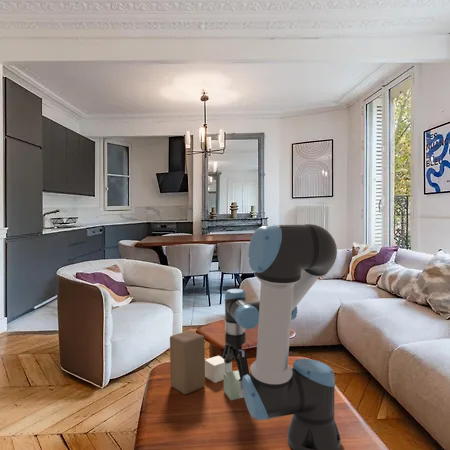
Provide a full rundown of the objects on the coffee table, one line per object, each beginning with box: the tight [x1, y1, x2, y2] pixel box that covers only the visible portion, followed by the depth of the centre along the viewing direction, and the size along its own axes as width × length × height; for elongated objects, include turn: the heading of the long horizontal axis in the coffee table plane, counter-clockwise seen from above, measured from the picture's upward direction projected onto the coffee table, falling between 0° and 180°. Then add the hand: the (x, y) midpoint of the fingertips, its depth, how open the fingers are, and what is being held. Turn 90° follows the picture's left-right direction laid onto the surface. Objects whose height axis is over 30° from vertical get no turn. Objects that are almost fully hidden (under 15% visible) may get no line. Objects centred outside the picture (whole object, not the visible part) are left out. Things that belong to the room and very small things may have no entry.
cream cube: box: [205, 355, 225, 384], centre depth 146 cm, size 7×7×7 cm
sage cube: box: [223, 369, 244, 401], centre depth 133 cm, size 7×7×7 cm
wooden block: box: [169, 330, 206, 395], centre depth 138 cm, size 10×10×20 cm
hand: (235, 387), depth 133 cm, fingers open, 13 cm apart
